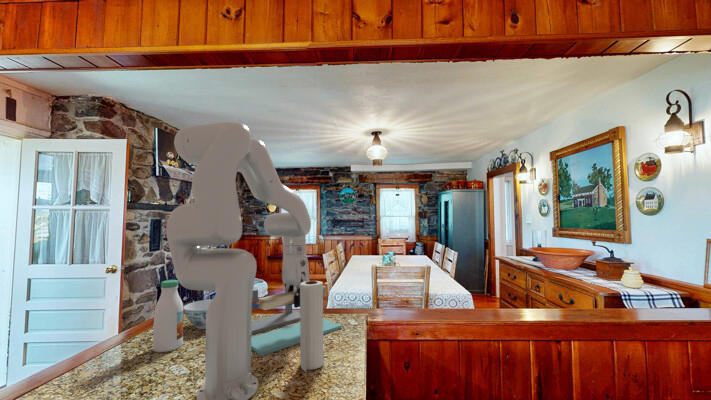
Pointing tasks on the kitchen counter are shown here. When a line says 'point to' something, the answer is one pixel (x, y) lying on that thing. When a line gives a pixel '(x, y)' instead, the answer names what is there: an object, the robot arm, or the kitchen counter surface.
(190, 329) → the kitchen counter surface
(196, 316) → the chinaware
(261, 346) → the mat
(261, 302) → the rail
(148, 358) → the kitchen counter surface
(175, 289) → the milk bottle
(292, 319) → the rack
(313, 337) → the paper towel roll
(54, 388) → the kitchen counter surface
